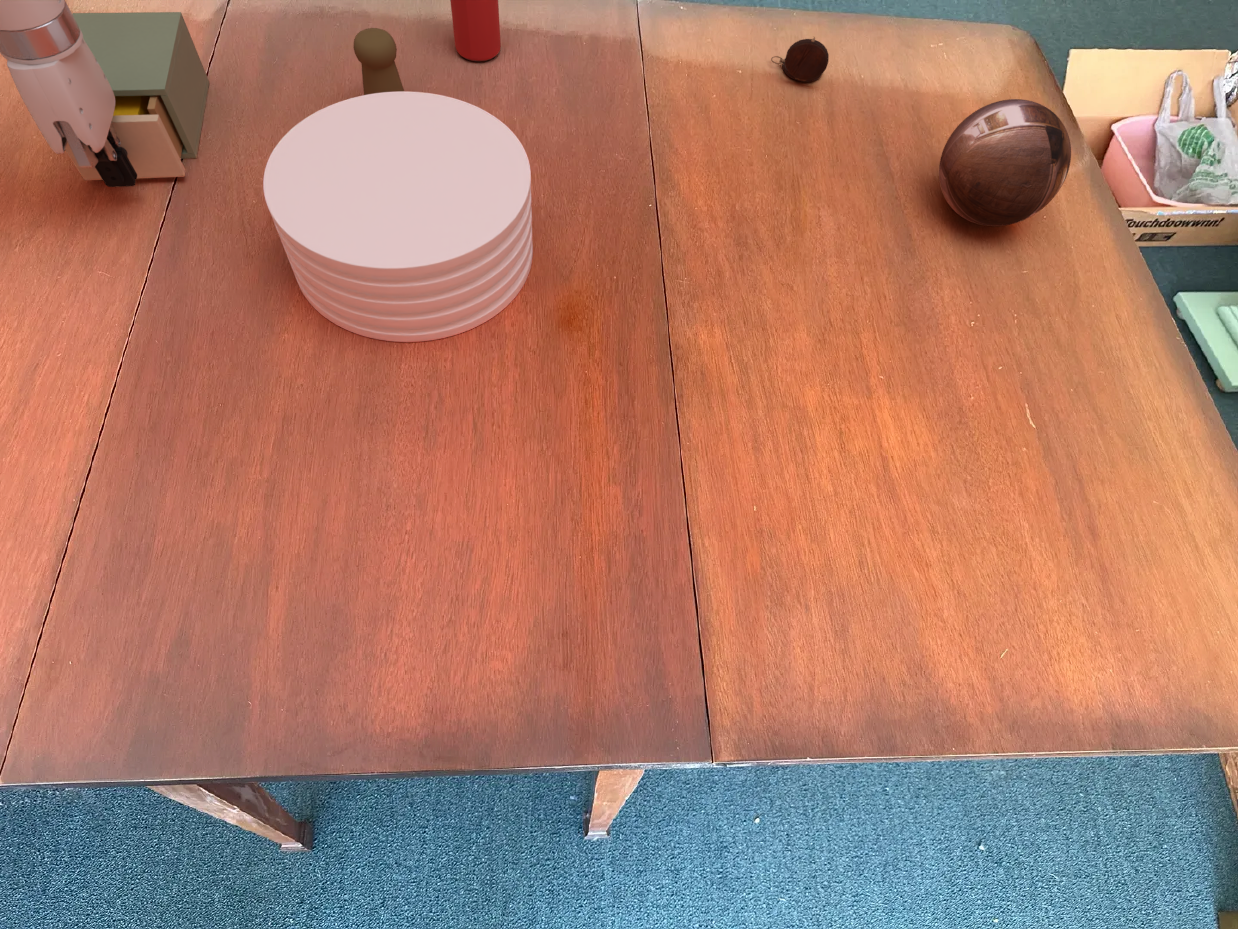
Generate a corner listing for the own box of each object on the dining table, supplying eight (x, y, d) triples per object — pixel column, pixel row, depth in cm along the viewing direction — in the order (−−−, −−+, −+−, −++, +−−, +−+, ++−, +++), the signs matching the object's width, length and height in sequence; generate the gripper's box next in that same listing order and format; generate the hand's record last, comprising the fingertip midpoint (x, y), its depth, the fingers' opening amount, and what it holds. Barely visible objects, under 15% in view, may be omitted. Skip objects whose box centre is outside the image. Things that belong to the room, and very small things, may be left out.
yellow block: (111, 156, 95) (90, 120, 90) (119, 123, 98) (99, 87, 93) (155, 154, 95) (136, 118, 91) (161, 122, 98) (144, 86, 94)
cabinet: (196, 158, 99) (164, 88, 90) (89, 162, 97) (46, 91, 88) (209, 82, 106) (181, 11, 98) (110, 84, 104) (72, 12, 96)
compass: (823, 63, 120) (838, 15, 113) (818, 93, 116) (833, 46, 109) (772, 52, 120) (784, 4, 114) (765, 82, 116) (778, 34, 110)
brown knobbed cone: (376, 132, 104) (358, 54, 94) (358, 106, 106) (339, 27, 96) (418, 120, 106) (405, 41, 96) (399, 94, 108) (385, 15, 98)
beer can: (464, 67, 112) (455, -20, 102) (449, 41, 115) (439, -46, 105) (507, 59, 114) (503, -27, 104) (492, 33, 117) (486, -53, 106)
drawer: (183, 183, 95) (155, 127, 88) (82, 187, 93) (46, 130, 87) (197, 102, 103) (173, 44, 96) (104, 104, 101) (73, 46, 94)
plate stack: (294, 355, 84) (260, 281, 75) (293, 181, 98) (264, 98, 88) (549, 327, 89) (549, 253, 79) (515, 164, 103) (511, 84, 93)
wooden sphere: (900, 182, 107) (948, 80, 94) (992, 165, 110) (1051, 66, 97) (955, 259, 100) (1016, 162, 87) (1052, 240, 103) (1123, 143, 90)
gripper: (9, -16, 79) (100, 140, 94) (-30, 75, 71) (75, 228, 87) (89, -16, 80) (166, 139, 95) (58, 74, 72) (147, 225, 88)
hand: (122, 181), depth 91 cm, fingers closed
